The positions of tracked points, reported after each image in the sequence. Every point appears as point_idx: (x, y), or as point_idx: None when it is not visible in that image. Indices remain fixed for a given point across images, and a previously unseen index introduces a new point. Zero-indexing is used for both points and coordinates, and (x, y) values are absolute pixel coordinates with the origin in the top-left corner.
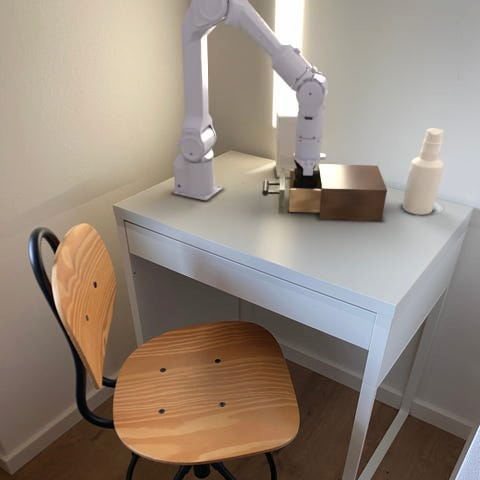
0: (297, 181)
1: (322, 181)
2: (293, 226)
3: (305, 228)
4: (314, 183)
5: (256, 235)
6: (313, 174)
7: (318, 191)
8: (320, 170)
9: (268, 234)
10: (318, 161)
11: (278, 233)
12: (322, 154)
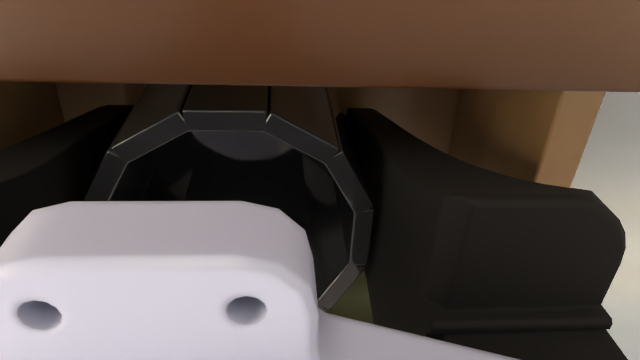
0: (330, 299)
1: (495, 74)
2: (579, 171)
3: (627, 102)
4: (329, 127)
5: (622, 325)
6: (603, 285)
7: (594, 100)
8: (22, 70)
9: (630, 283)
10: (450, 352)
11: (636, 243)
12: (78, 343)
